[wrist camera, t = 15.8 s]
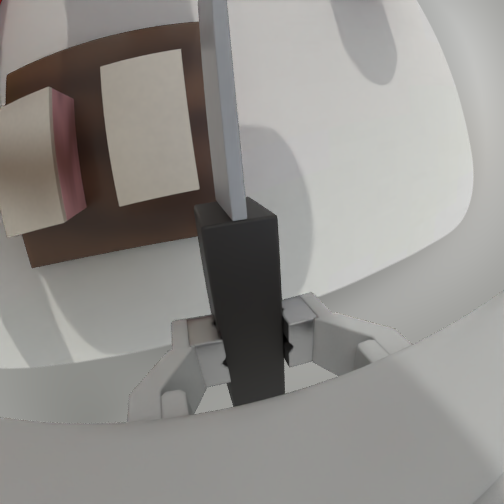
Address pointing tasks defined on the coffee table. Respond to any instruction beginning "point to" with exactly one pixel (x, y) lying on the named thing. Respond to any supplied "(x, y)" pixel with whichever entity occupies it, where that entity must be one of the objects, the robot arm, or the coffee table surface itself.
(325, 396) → the robot arm
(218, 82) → the knife
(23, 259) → the coffee table surface
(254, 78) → the coffee table surface
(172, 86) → the cake slice
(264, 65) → the coffee table surface
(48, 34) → the coffee table surface
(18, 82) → the cake
